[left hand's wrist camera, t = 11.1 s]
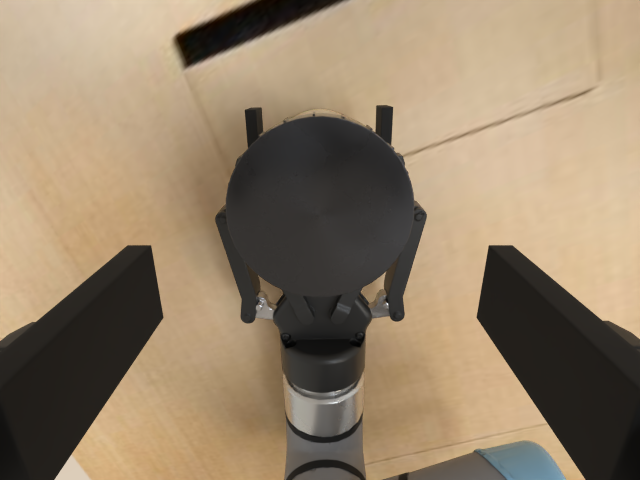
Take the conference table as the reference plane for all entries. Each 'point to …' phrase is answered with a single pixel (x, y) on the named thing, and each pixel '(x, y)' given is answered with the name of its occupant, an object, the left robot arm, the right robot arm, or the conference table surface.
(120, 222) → the conference table surface
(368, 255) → the lid
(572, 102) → the conference table surface
